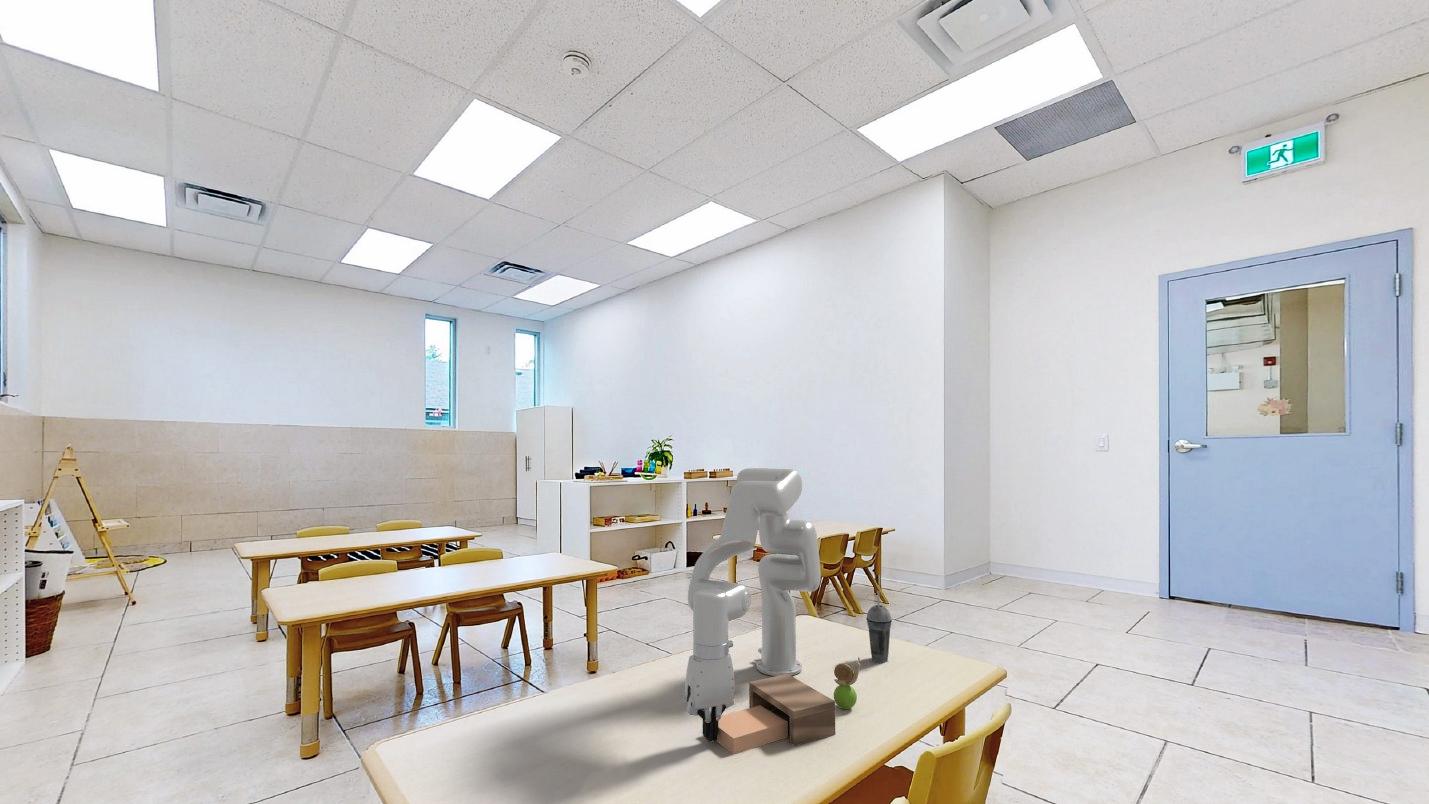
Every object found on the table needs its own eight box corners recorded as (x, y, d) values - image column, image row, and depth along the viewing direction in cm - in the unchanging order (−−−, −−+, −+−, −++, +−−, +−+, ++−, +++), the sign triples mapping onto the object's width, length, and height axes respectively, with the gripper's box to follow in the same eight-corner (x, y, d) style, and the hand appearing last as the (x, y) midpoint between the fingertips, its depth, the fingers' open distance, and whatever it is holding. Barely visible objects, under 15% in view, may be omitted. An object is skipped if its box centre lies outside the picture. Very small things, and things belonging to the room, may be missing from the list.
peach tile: (708, 736, 133) (708, 719, 134) (759, 720, 141) (759, 705, 141) (733, 756, 125) (733, 738, 125) (787, 738, 132) (787, 722, 133)
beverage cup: (893, 657, 181) (892, 588, 183) (892, 665, 174) (890, 594, 176) (868, 654, 184) (867, 586, 185) (865, 662, 177) (864, 592, 178)
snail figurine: (861, 714, 143) (860, 661, 144) (833, 711, 144) (832, 659, 145) (860, 704, 149) (860, 653, 149) (833, 702, 150) (833, 652, 151)
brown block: (749, 712, 144) (749, 682, 145) (787, 703, 149) (787, 673, 150) (794, 746, 128) (793, 711, 129) (835, 734, 133) (835, 701, 134)
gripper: (732, 639, 137) (732, 724, 136) (671, 649, 130) (670, 739, 129) (749, 649, 131) (750, 738, 129) (686, 660, 124) (685, 755, 122)
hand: (710, 738), depth 129 cm, fingers closed
